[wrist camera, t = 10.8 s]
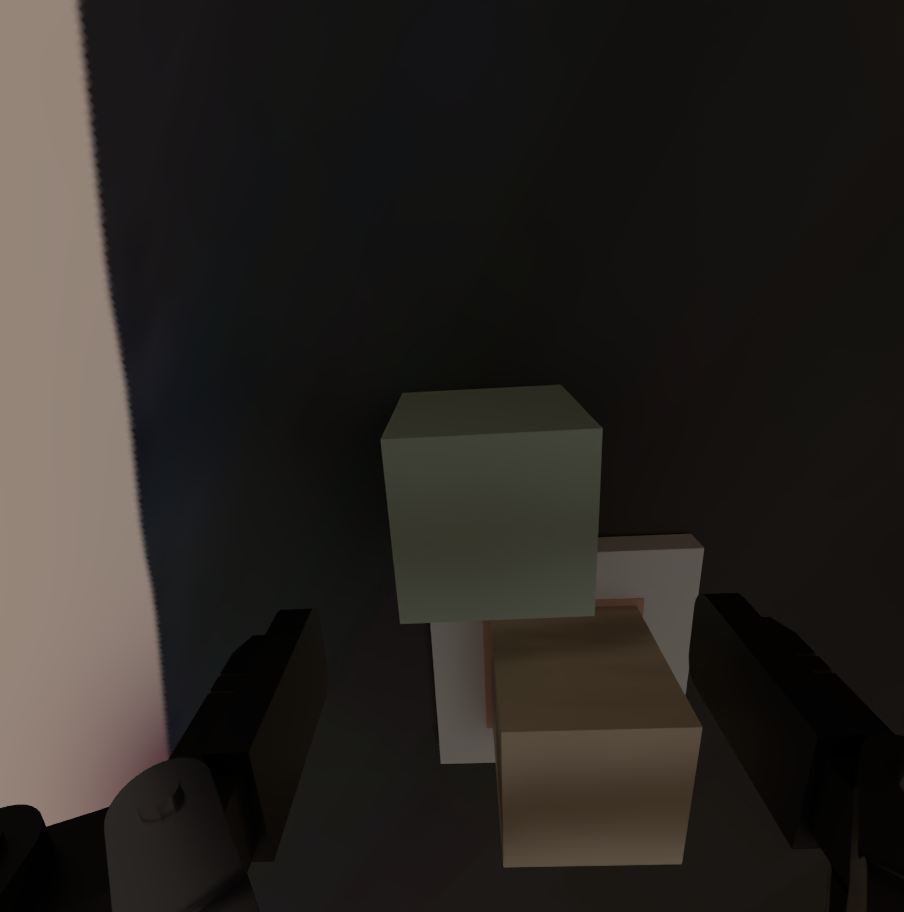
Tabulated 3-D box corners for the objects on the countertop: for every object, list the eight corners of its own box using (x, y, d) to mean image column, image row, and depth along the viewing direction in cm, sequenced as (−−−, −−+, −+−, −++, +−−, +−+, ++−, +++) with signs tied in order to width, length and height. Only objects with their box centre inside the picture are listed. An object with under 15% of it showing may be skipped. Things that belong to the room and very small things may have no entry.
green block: (402, 392, 20) (380, 439, 14) (560, 384, 19) (602, 428, 14) (415, 532, 22) (400, 623, 16) (558, 526, 21) (594, 615, 16)
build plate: (427, 543, 22) (425, 559, 20) (691, 533, 21) (705, 549, 20) (441, 741, 25) (440, 765, 24) (667, 735, 25) (678, 759, 24)
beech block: (489, 610, 21) (501, 732, 15) (636, 605, 21) (702, 727, 15) (492, 722, 23) (503, 867, 17) (626, 718, 23) (681, 864, 17)
